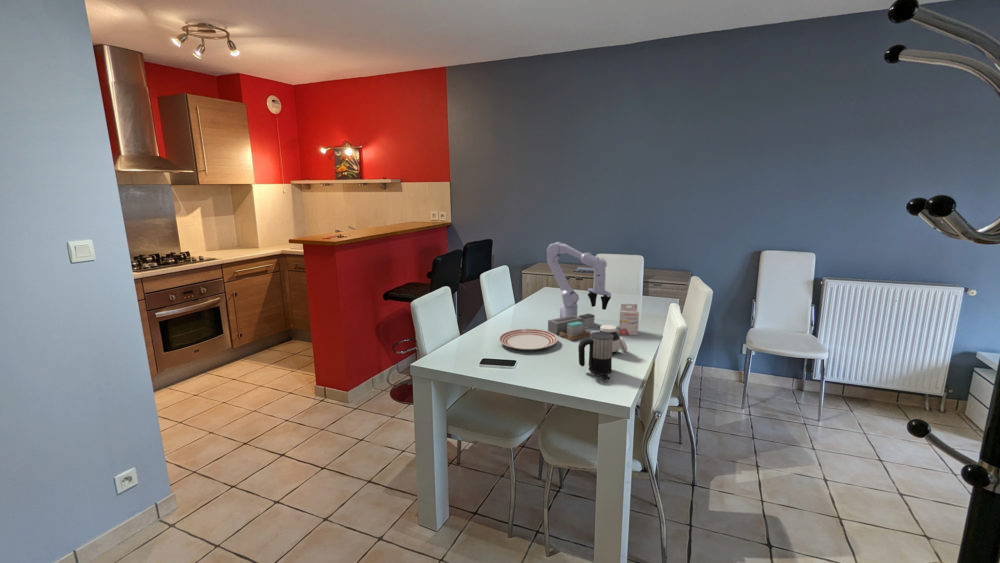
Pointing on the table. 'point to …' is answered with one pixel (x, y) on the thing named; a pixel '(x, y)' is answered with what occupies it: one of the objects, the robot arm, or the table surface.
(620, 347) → the spread jar
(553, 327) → the grey long block
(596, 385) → the table surface
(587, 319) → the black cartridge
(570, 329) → the teal cartridge
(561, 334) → the walnut tray
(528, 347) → the dinner plate
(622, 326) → the ink cartridge box
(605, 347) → the milk frother
